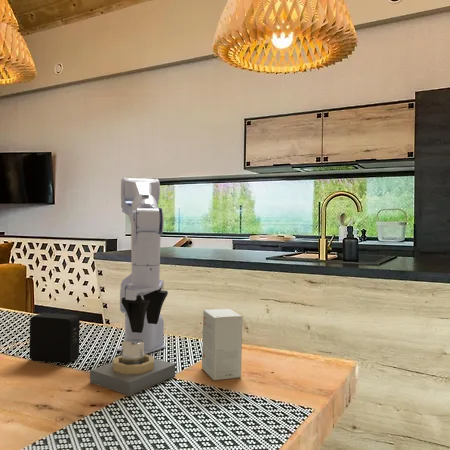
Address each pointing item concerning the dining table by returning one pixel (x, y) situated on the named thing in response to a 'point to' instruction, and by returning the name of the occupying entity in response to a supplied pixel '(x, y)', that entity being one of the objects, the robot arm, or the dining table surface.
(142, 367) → the grey square plate
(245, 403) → the dining table surface
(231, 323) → the small box
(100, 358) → the dining table surface
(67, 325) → the electronic device
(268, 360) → the dining table surface
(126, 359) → the shiny metal cylinder
